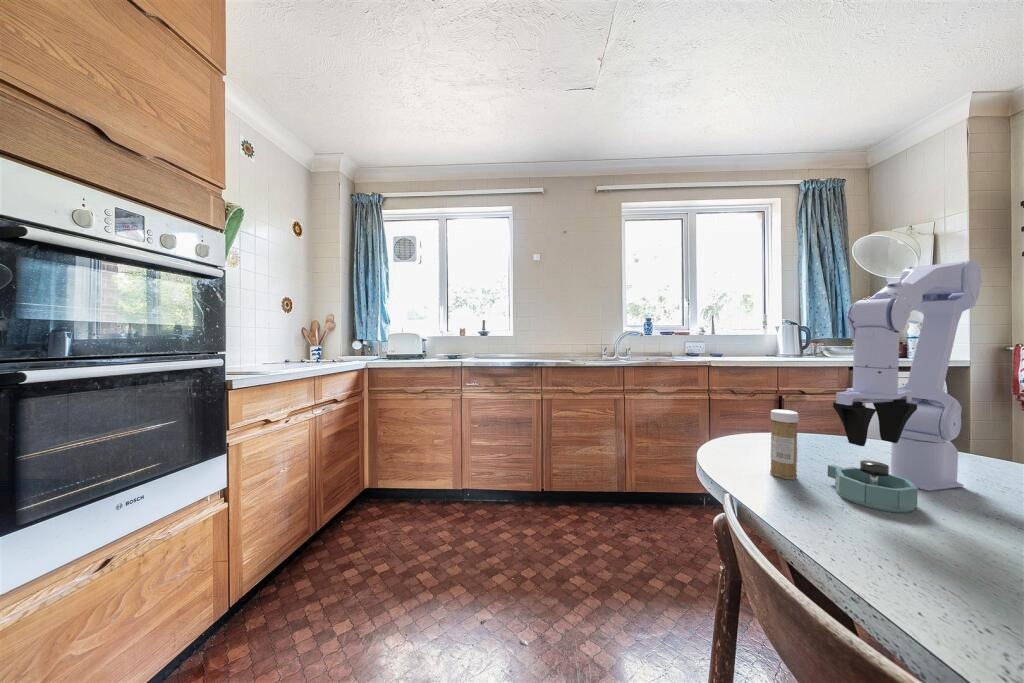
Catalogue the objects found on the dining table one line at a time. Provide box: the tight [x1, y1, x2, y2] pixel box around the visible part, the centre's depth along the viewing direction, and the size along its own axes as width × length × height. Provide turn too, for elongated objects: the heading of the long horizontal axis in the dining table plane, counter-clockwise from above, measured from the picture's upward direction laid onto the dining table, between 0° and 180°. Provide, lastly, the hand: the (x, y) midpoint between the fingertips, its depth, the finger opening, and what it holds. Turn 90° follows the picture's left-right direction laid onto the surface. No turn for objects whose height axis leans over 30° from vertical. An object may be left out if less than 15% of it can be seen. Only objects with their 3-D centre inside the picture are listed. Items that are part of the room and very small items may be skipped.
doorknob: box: [859, 459, 890, 487], centre depth 66 cm, size 7×7×5 cm
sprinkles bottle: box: [769, 409, 799, 481], centre depth 76 cm, size 5×5×13 cm
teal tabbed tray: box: [827, 464, 919, 514], centre depth 67 cm, size 10×12×4 cm
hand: (873, 443), depth 66 cm, fingers open, 7 cm apart
